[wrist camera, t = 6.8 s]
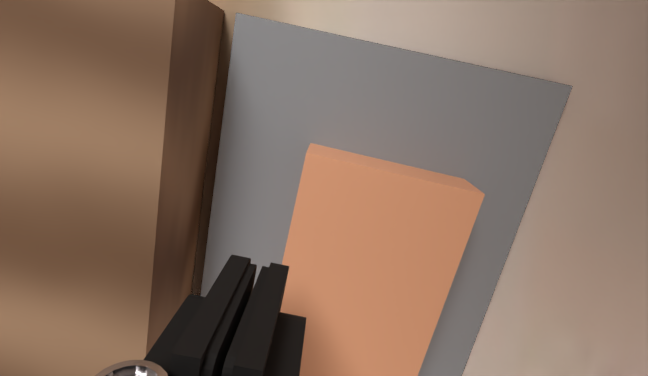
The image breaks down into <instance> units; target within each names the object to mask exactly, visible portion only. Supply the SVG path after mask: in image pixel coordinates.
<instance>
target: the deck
mask: <svg viewBox="0 0 648 376" xmlns="http://www.w3.org/2000/svg"><path fill="white" fill-rule="evenodd" d="M223 18H224V11H223V10H222V9H220V8H219V7H217V6H216V5H214V4H212V3H211V2H209V1H208V0H0V376H95V375H96V374H98V373H99V372H100V371H102V370H103V369H105V368H107V367H109V366H111V365H113V364H115V363H119V362H123V361H127V360H144V358H145V357H146V355H147V354H148V352H149V351H150V349H151V348H152V347H153V345H154V344H155V342H156V341H157V339H158V338H159V337H160V335H161V334H162V332H163V331H164V329H165V328H166V326H167V325H168V324H169V322H170V321H171V319H172V318H173V316H174V315H175V313H176V312H177V311H178V309H179V308H180V306H181V305H182V303H183V302H184V300H185V299H186V298H187V297H188V295H190V294H191V289H192V281H193V272H194V264H195V255H196V247H197V238H198V230H199V221H200V213H201V204H202V196H203V187H204V179H205V170H206V162H207V153H208V145H209V137H210V128H211V120H212V111H213V103H214V94H215V86H216V77H217V69H218V60H219V52H220V43H221V35H222V26H223Z"/></svg>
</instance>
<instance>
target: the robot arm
mask: <svg viewBox="0 0 648 376" xmlns="http://www.w3.org/2000/svg"><path fill="white" fill-rule="evenodd" d="M256 269H257V265H256V264H251V258H247V257H242V256H237V255H231V256H230V257H229V259H228V261H227V262H226V264H225V266H224V267H223V269H222V271H221V272H220V274H219V276H218V277H217V279H216V281H215V282H214V284H213V285H212V287H211V289H210V290H209V292H208V294H207V295H206V297H203V296H198V295H193V294H190V295H188V297H187V298H186V299H185V300H184V302H183V303H182V305H181V306H180V308H179V309H178V311H177V312H176V313H175V315H174V316H173V318H172V319H171V321H170V322H169V324H168V325H167V326H166V328H165V329H164V331H163V332H162V334H161V335H160V337H159V338H158V339H157V341H156V342H155V344H154V345H153V347H152V348H151V349H150V351H149V352H148V354H147V355H146V357H145V358H144V360H127V361H123V362H119V363H115V364H113V365H111V366H109V367H107V368H105V369H103V370H102V371H100V372H99V373H98V374H96V375H95V376H299V375H300V367H301V358H302V350H303V342H304V334H305V326H306V317H302V316H297V315H292V314H287V313H282V312H280V310H281V305H282V300H283V295H284V291H285V286H286V281H287V276H288V271H289V266H286V265H281V264H276V263H272V262H271V263H270V266H269V267H266V266H262V268H261V270H260V273H259V275H258V278H257V280H256V283H255V285H254V280H255V275H256ZM253 286H254V288H253Z"/></svg>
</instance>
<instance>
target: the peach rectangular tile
mask: <svg viewBox="0 0 648 376" xmlns="http://www.w3.org/2000/svg"><path fill="white" fill-rule="evenodd" d="M484 196H485V194H484V193H483V192H481V191H480V190H479V189H477V188H476V187H475V186H473V185H472V184H471V183H469V182H468V181H467V180H465V179H463V178H459V177H454V176H450V175H446V174H442V173H437V172H433V171H429V170H424V169H420V168H416V167H412V166H407V165H403V164H399V163H394V162H390V161H386V160H382V159H377V158H373V157H369V156H364V155H360V154H356V153H352V152H347V151H343V150H339V149H334V148H330V147H326V146H322V145H317V144H313V143H310V145H309V147H308V150H307V152H306V156H305V161H304V165H303V170H302V174H301V179H300V183H299V188H298V193H297V197H296V202H295V206H294V211H293V215H292V220H291V224H290V229H289V234H288V238H287V243H286V247H285V252H284V256H283V261H282V265H286V266H289V271H288V276H287V281H286V286H285V291H284V295H283V300H282V305H281V310H280V312H282V313H287V314H292V315H297V316H302V317H306V326H305V334H304V342H303V350H302V358H301V367H300V375H299V376H418V373H419V371H420V368H421V365H422V363H423V360H424V357H425V355H426V352H427V349H428V346H429V344H430V341H431V338H432V336H433V333H434V330H435V328H436V325H437V322H438V320H439V317H440V314H441V311H442V309H443V306H444V303H445V301H446V298H447V295H448V293H449V290H450V287H451V285H452V282H453V279H454V276H455V274H456V271H457V268H458V266H459V263H460V260H461V258H462V255H463V252H464V250H465V247H466V244H467V241H468V239H469V236H470V233H471V231H472V228H473V225H474V223H475V220H476V217H477V215H478V212H479V209H480V206H481V204H482V201H483V198H484Z"/></svg>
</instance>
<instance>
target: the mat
mask: <svg viewBox="0 0 648 376" xmlns="http://www.w3.org/2000/svg"><path fill="white" fill-rule="evenodd" d="M571 89H572V86H570V85H565V84H561V83H556V82H552V81H547V80H543V79H538V78H533V77H529V76H524V75H520V74H515V73H510V72H506V71H501V70H497V69H492V68H488V67H483V66H478V65H474V64H469V63H465V62H460V61H456V60H451V59H446V58H442V57H437V56H433V55H428V54H423V53H419V52H414V51H410V50H405V49H401V48H396V47H391V46H387V45H382V44H378V43H373V42H369V41H364V40H359V39H355V38H350V37H346V36H341V35H336V34H332V33H327V32H323V31H318V30H314V29H309V28H304V27H300V26H295V25H291V24H286V23H281V22H277V21H272V20H268V19H263V18H259V17H254V16H249V15H245V14H240V13H236V18H235V25H234V33H233V41H232V49H231V57H230V65H229V73H228V81H227V89H226V97H225V105H224V113H223V120H222V128H221V136H220V144H219V152H218V160H217V168H216V176H215V184H214V192H213V200H212V208H211V215H210V223H209V231H208V239H207V247H206V255H205V263H204V271H203V279H202V287H201V295H200V296H203V297H206V295H207V294H208V292H209V290H210V289H211V287H212V285H213V284H214V282H215V281H216V279H217V277H218V276H219V274H220V272H221V271H222V269H223V267H224V266H225V264H226V262H227V261H228V259H229V257H230V256H231V255H237V256H242V257H247V258H251V264H256V265H257V269H256V275H255V280H254V285H255V283H256V280H257V278H258V275H259V273H260V270H261V268H262V266H266V267H269V266H270V263H271V262H272V263H276V264H281V265H282V261H283V256H284V252H285V247H286V243H287V238H288V234H289V229H290V224H291V220H292V215H293V211H294V206H295V202H296V197H297V193H298V188H299V183H300V179H301V174H302V170H303V165H304V161H305V156H306V152H307V150H308V147H309V145H310V143H313V144H317V145H322V146H326V147H330V148H334V149H339V150H343V151H347V152H352V153H356V154H360V155H364V156H369V157H373V158H377V159H382V160H386V161H390V162H394V163H399V164H403V165H407V166H412V167H416V168H420V169H424V170H429V171H433V172H437V173H442V174H446V175H450V176H454V177H459V178H463V179H465V180H467V181H468V182H469V183H471V184H472V185H473V186H475V187H476V188H477V189H479V190H480V191H481V192H483V193H484V194H485V196H484V198H483V201H482V204H481V206H480V209H479V212H478V215H477V217H476V220H475V223H474V225H473V228H472V231H471V233H470V236H469V239H468V241H467V244H466V247H465V250H464V252H463V255H462V258H461V260H460V263H459V266H458V268H457V271H456V274H455V276H454V279H453V282H452V285H451V287H450V290H449V293H448V295H447V298H446V301H445V303H444V306H443V309H442V311H441V314H440V317H439V320H438V322H437V325H436V328H435V330H434V333H433V336H432V338H431V341H430V344H429V346H428V349H427V352H426V355H425V357H424V360H423V363H422V365H421V368H420V371H419V373H418V376H462V373H463V371H464V368H465V366H466V363H467V360H468V358H469V355H470V353H471V350H472V347H473V345H474V342H475V340H476V337H477V334H478V332H479V329H480V326H481V324H482V321H483V319H484V316H485V313H486V311H487V308H488V306H489V303H490V300H491V298H492V295H493V293H494V290H495V287H496V285H497V282H498V279H499V277H500V274H501V272H502V269H503V266H504V264H505V261H506V259H507V256H508V253H509V251H510V248H511V246H512V243H513V240H514V238H515V235H516V233H517V230H518V227H519V225H520V222H521V219H522V217H523V214H524V212H525V209H526V206H527V204H528V201H529V199H530V196H531V193H532V191H533V188H534V186H535V183H536V180H537V178H538V175H539V172H540V170H541V167H542V165H543V162H544V159H545V157H546V154H547V152H548V149H549V146H550V144H551V141H552V139H553V136H554V133H555V131H556V128H557V125H558V123H559V120H560V118H561V115H562V112H563V110H564V107H565V105H566V102H567V99H568V97H569V94H570V92H571ZM253 288H254V286H253Z"/></svg>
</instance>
